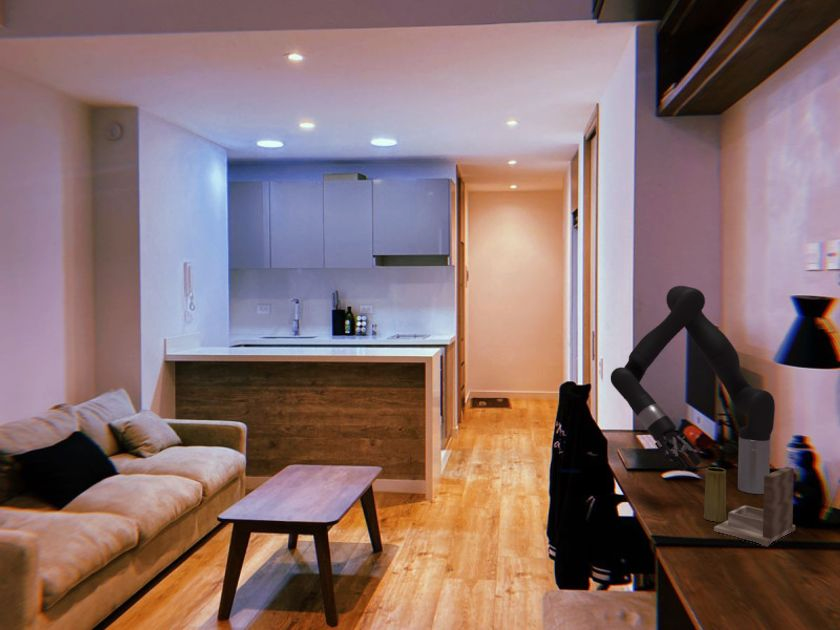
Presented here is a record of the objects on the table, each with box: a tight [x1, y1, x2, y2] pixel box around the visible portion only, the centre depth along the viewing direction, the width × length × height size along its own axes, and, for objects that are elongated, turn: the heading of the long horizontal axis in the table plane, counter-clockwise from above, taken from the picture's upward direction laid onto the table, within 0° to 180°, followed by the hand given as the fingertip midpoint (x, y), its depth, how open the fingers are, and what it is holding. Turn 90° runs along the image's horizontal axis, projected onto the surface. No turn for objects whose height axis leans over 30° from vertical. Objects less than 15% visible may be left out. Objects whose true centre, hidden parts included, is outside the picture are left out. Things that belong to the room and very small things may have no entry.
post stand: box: [713, 466, 796, 548], centre depth 191 cm, size 18×14×18 cm
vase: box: [703, 466, 728, 523], centre depth 201 cm, size 6×6×14 cm
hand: (691, 466), depth 206 cm, fingers open, 8 cm apart
